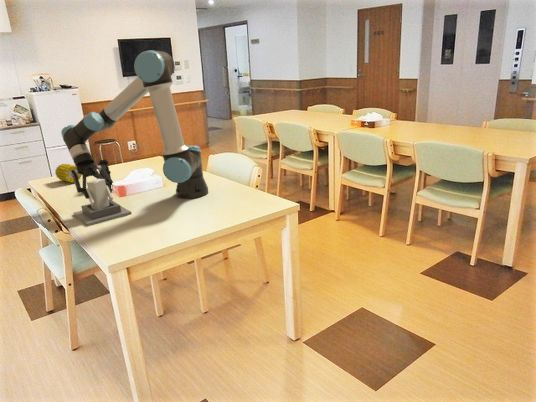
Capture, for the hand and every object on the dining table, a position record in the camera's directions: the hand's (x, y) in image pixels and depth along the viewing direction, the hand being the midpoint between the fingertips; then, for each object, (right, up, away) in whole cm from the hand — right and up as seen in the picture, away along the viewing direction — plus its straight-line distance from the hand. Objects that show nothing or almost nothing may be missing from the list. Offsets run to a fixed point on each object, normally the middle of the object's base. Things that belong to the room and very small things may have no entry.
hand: (102, 201), depth 170 cm
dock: (-2, -5, +5) cm, 7 cm away
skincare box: (-2, -3, +4) cm, 5 cm away
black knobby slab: (-15, +7, +44) cm, 47 cm away
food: (-41, +11, +58) cm, 72 cm away
